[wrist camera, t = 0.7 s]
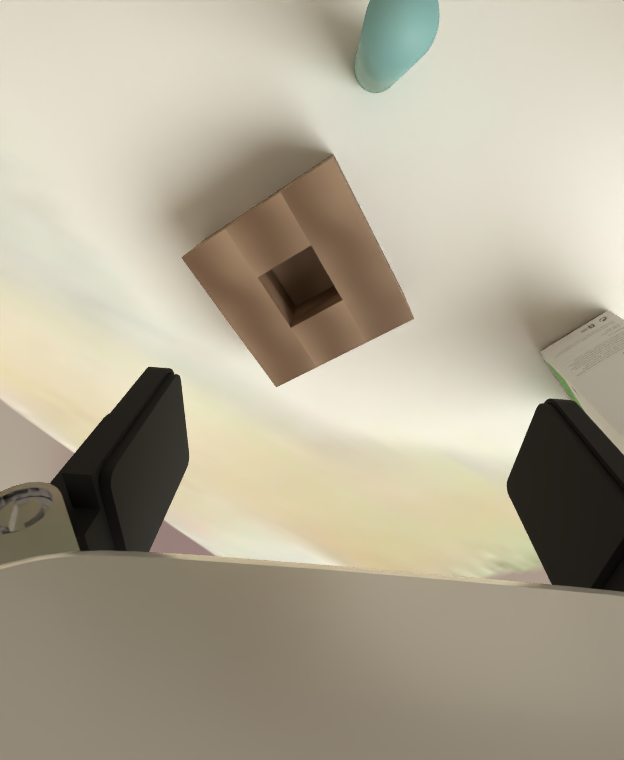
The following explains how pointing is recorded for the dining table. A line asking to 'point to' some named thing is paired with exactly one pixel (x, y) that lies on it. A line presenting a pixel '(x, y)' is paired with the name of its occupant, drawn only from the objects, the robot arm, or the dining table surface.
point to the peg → (394, 40)
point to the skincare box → (594, 371)
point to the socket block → (301, 275)
